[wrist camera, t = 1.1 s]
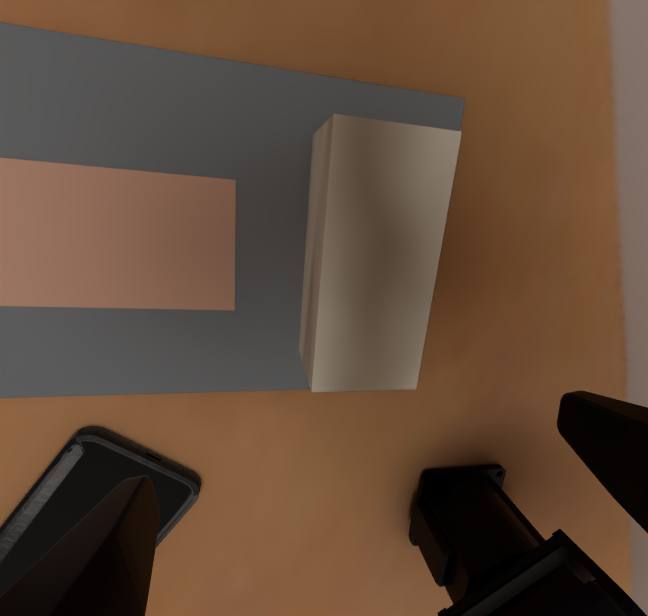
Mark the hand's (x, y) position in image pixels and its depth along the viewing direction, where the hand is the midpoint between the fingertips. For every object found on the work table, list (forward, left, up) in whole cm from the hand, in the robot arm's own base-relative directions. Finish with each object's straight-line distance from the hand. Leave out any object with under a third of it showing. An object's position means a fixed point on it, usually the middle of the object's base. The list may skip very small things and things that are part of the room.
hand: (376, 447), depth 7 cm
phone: (+13, +16, -13) cm, 24 cm away
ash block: (-2, -2, -12) cm, 12 cm away
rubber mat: (+5, -2, -12) cm, 13 cm away
